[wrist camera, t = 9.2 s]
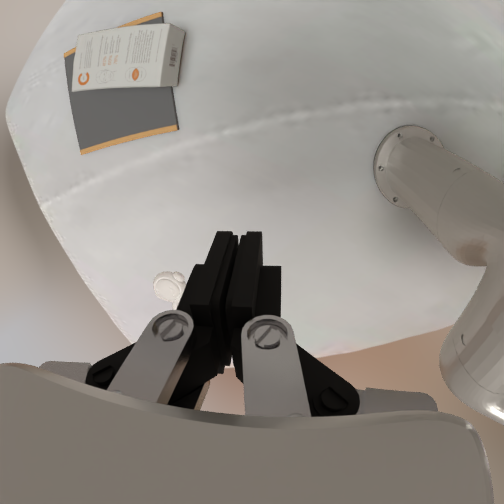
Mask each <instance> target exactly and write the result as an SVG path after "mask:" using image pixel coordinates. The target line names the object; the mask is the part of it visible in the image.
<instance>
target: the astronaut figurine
mask: <svg viewBox="0 0 504 504" xmlns="http://www.w3.org/2000/svg"><path fill="white" fill-rule="evenodd" d="M153 287H154V291H155V294H156V296H157V297H158V298H160V299H164V300H166V301H170V302H173V304H172V308H173V310H176V309H177V306H178V304H179V301H180V299H181V297H182V294H183V292H184V289H185V287H186V283H185V282H184V276H183V275H182V274H181V273H179V272H174V273H172V272H162V273H159V274H158V275H157V276H156V277H155V279H154V282H153Z"/></svg>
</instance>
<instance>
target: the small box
mask: <svg viewBox="0 0 504 504" xmlns="http://www.w3.org/2000/svg"><path fill="white" fill-rule="evenodd" d="M184 36H185V32H184V31H183V30H181V29H180V28H178V27H176V26H174V25H173V24H171V23H161V24H145V25H134V26H126V27H119V28H113V29H107V30H101V31H96V32H91V33H86V34H82V35H78V39H77V45H76V52H75V57H74V64H73V79H72V92H76V91H84V90H94V89H107V88H129V87H166V86H177V83H178V73H179V65H180V58H181V51H182V45H183V40H184Z"/></svg>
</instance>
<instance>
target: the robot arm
mask: <svg viewBox="0 0 504 504" xmlns="http://www.w3.org/2000/svg"><path fill="white" fill-rule="evenodd" d="M398 133H399V136H397V135H398ZM379 166H380V168H378V167H379ZM374 176H375V180H376V183H377V186H378V188H379V190H380V191H381V193H382V194H383V195H384V196H385V197H386V198H387V200H388V201H390V202H391V203H392V204H394V205H396V206H399V207H402V208H410V209H411V210H412V211H413V212H414V213H415V214H416V215H417V216H418V218H419V219H420V220H421V221H422V222H423V223H424V224H425V225H426V227H427V228H428V229H429V230H430V231H431V232H432V233H433V235H434V236H435V237H436V238H437V239H438V241H439V242H440V243H441V244H442V245H443V247H444V248H445V249H446V250H447V251H448V253H449V254H450V255H451V256H452V257H453V258H455V259H456V260H457V261H459V262H461V263H463V264H465V265H469V266H487V267H486V271H485V273H484V275H483V277H482V279H481V281H480V283H479V285H478V287H477V290H476V292H475V293H474V295H473V297H472V298H471V300H470V302H469V303H468V305H467V306H466V308H465V309H464V311H463V313H462V314H461V316H460V317H459V319H458V320H457V321H456V323H455V324H454V326H453V327H452V329H451V330H450V332H449V334H448V335H447V337H446V339H445V340H444V342H443V345H442V348H441V351H440V357H439V366H440V371H441V374H442V377H443V379H444V381H445V383H446V385H447V386H448V388H449V389H450V390H451V392H452V393H453V394H454V395H455V396H456V397H457V398H458V399H459V400H460V401H462V402H463V403H464V404H466V405H467V406H469V407H470V408H472V409H474V410H475V411H477V412H479V413H481V414H483V415H485V416H487V417H489V418H491V419H493V420H494V421H496V422H498V423H501V424H503V425H504V183H503V182H501V181H500V180H498V179H496V178H495V177H493V176H492V175H490V174H488V173H487V172H485V171H483V170H482V169H480V168H478V167H477V166H475V165H473V164H471V163H470V162H468V161H466V160H464V159H462V158H461V157H459V156H457V155H455V154H453V153H451V152H449V151H447V150H445V149H444V147H443V145H442V144H441V142H440V140H439V139H438V138H437V137H436V136H435V135H434V134H433V133H431V132H430V131H428V130H426V129H424V128H421V127H418V126H403V127H400V128H398V129H396V130H394V131H392V132H391V133H390V134H389V135H387V136H386V137H385V138H384V140H383V141H382V143H381V144H380V146H379V148H378V150H377V153H376V156H375V160H374ZM231 358H233V364H234V366H235V372H236V377H237V378H238V379H239V380H240V381H241V382H242V383H243V384H244V401H245V415H235V414H224V413H215V412H208V411H200V409H201V406H202V403H203V401H204V399H205V396H206V394H207V391H208V389H209V385H210V379H212V378H214V377H215V376H217V374H218V373H219V374H223V373H224V367H225V366H230V363H231ZM0 504H494V497H493V488H492V480H491V474H490V468H489V463H488V460H487V456H486V452H485V449H484V446H483V443H482V440H481V438H480V436H479V434H478V432H477V431H476V429H475V428H474V427H473V426H472V424H471V423H469V422H468V421H466V420H465V419H463V418H460V417H458V416H455V415H452V414H447V413H443V412H438V409H437V404H436V403H435V401H434V399H433V398H432V397H431V396H429V395H428V394H425V393H421V392H406V391H394V390H383V389H374V388H366V389H365V390H357V389H355V388H354V387H353V386H352V385H351V384H350V383H349V382H347V381H345V380H344V379H343V378H342V377H340V376H339V375H337V374H336V373H335V372H333V371H332V370H331V369H329V368H328V367H327V366H325V365H324V364H323V363H321V362H320V361H318V360H317V359H316V358H314V357H313V356H312V355H311V354H309V353H308V352H307V351H305V350H304V349H303V348H301V347H300V346H299V345H297V344H296V341H295V336H294V332H293V329H292V327H291V325H290V324H289V323H288V322H287V321H286V320H284V319H282V318H281V266H263V252H262V232H251V231H247V234H246V235H241V239H240V243H239V244H238V236H237V235H233V233H232V231H217V233H216V236H215V238H214V241H213V243H212V246H211V248H210V251H209V253H208V256H207V258H206V261H205V263H204V264H196V265H195V266H194V268H193V270H192V273H191V275H190V277H189V280H188V282H187V284H186V287H185V289H184V292H183V294H182V297H181V299H180V301H179V304H178V306H177V309H176V310H169V311H164V312H162V313H159V314H158V315H156V316H155V317H154V318H153V319H152V320H151V321H150V322H149V324H148V325H147V327H146V328H145V330H144V331H143V333H142V334H141V336H140V337H139V339H138V341H137V342H136V343H134V344H132V345H130V346H128V347H126V348H124V349H122V350H120V351H118V352H116V353H114V354H112V355H110V356H108V357H106V358H104V359H102V360H100V361H98V362H97V363H95V364H94V365H93V366H91V364H90V363H78V362H58V361H57V362H56V361H49V362H45V363H43V364H42V365H41V366H40V367H39V368H38V367H35V366H32V365H27V364H21V363H2V364H0Z"/></svg>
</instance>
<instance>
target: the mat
mask: <svg viewBox="0 0 504 504" xmlns="http://www.w3.org/2000/svg"><path fill="white" fill-rule="evenodd" d="M161 23H164V20H163V13H162V12H159V13H155V14H152V15H149V16H146V17H143V18H140V19H138V20H135V21H132V22H129V23H127V24H124V25H122V26H119V27H126V26H134V25H145V24H161ZM119 27H117V28H119ZM75 52H76V47H75V48H73V49H71V50H69V51H68V52H66V53H64V58H65V67H66V76H67V84H68V91H69V97H70V103H71V109H72V114H73V119H74V124H75V129H76V134H77V138H78V142H79V147H80V152H81V155H83V154H86V153H89V152H92V151H95V150H99V149H102V148H105V147H109V146H112V145H116V144H120V143H123V142H127V141H131V140H135V139H139V138H144V137H148V136H152V135H157V134H162V133H166V132H171V131H177V130H179V127H178V121H177V115H176V109H175V102H174V96H173V90H172V86H166V87H129V88H107V89H94V90H84V91H76V92H72V79H73V64H74V57H75Z"/></svg>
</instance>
